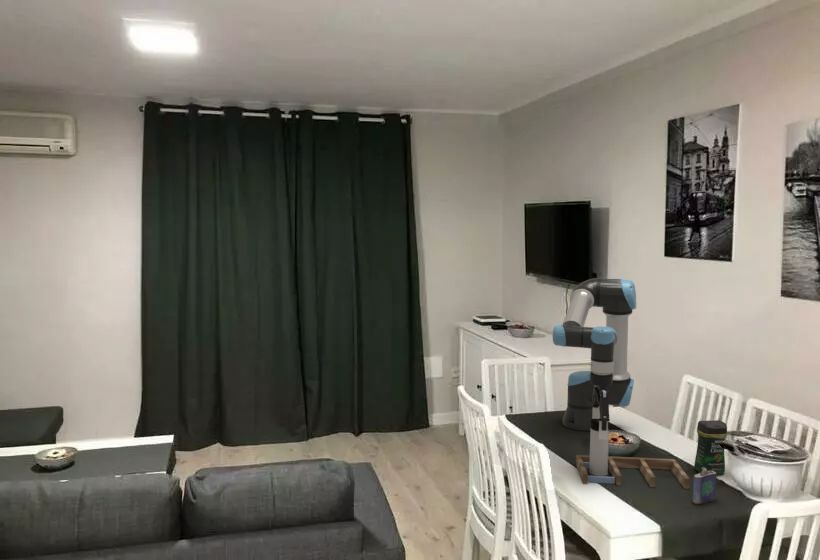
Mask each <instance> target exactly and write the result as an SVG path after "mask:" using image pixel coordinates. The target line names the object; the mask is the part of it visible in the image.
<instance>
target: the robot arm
mask: <svg viewBox="0 0 820 560" xmlns="http://www.w3.org/2000/svg"><path fill="white" fill-rule="evenodd" d="M636 292H637V291H636V287H635V283H634V281H633V280H631V279H623V278H620V279H619V278H598V277H594V278H590V279H587V280H585V281H582V282H581V283H579V284H577V286H575V287H574V289H573V290H571V292H570V296H569V306H568V309H567V311H566V314H565V317H564V320H563V322H562V324H555V326H553V330H552V343H553V344H554V345H555V346H558V347H559V346H560V347H562V348H563V347H564V348H565V347H566V348H567V347H569V348H580V349H581V348H583V349H590V362H588V365H589V366H590V367H589V370H579V371H574V372H572V373H570V374H569V375H568V378H567V400H566V401H567V403H566V404H567V406H566V409H565V412H564V414H563V417H562V425H563V427H565V428H567V429H571V430H575V431H582V432H583V431H584V432H585V431H586V432H587V431H590V432H591V419H598V421H599V439H605V440H607V436H608V422H610V420H611V419H610V408H609V407H610V406H615V407H628V406H630V404H631V398H632V394H633V389H634V382H635V379H633V378H631V373H630V372H629V371H628V344H629V343H628V339H629V338H628V337H629V336H628V334H629V317H630V316H631V315H632V314H633V310H636V309H637V294H636ZM593 307H594V308H595V307H598V308H602V313H603V314H604V315H605V316H606V317H605V318H606V319H605V326H593V327H590V326H589V327H588V326H585V324H586V321H587V316H588V314H589V311H590V309H591V308H593Z"/></svg>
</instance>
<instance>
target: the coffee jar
mask: <svg viewBox="0 0 820 560" xmlns="http://www.w3.org/2000/svg"><path fill="white" fill-rule="evenodd" d="M696 432H697V446H696V453H695V459H694V470H695V471H697V473H698V474H699V473H702V471H703V469H704V468H703V467H705V468H706V470H707V471H714V472H716V473H717V476H718V475H723V474H725V472H726V461H725V459H726V458H725V447H724V448H722V447H721V446H720V445H719V443H722V442H723V441H724V440H725V441H726V438H727V436H728V426H727V422H724V421H722V420H720V419H717V420H715V419H713V420H698V422H697V427H696ZM701 468H703V469H701Z"/></svg>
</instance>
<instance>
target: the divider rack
mask: <svg viewBox="0 0 820 560" xmlns="http://www.w3.org/2000/svg"><path fill="white" fill-rule="evenodd" d="M589 461H590V454H588V455H586V454H584V455H583V454H576V455H575V466H576V468H577V472H578V474H579V476H580V479H581V482H582V484H583V485H588V476H589V472H588V470H587V469H586V468H585V466H584V463H583V462H589ZM636 468H637V470H638V469H639V471H640V473H641V475H643V477H644V479H645V481H646V483H647V484H648V486H649V488H655V487H656V476H655V474H654V473H653V471H652V470H658V469H660V470H661V471H662V470H664V471H665V470H666V471H671V472H672V474H673V475H674V476H675V478H676V479H677V481H678V482H679V483H680V484H681V486H682V487H683V488H684V490H685V489H686V490H689V489H690V481H691V480H690V477H689V476H688V474H687V473H686V472H685V471H684V470H683V468H682V467H681V465H680V464H679V463H678V462H677V461H676V459H675V458H656V457H655V458H654V457H635V456H634V457H631V456H630V457H629V456H609V455H608V472H609V473H610V475H611V477H615V485H616V486H619V487H620V486H622V474H621V472H620V470H619V469H636Z"/></svg>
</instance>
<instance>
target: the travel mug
mask: <svg viewBox="0 0 820 560" xmlns="http://www.w3.org/2000/svg"><path fill="white" fill-rule="evenodd" d="M589 434H590V436H589V439H590V441H589V456H590V461H589V469H588V476H606V477H609V473H608V472H609V469H608V456H609V453H610V451H609V450H610V449H609V447H610V421H608V436H607V440H605V439H599V421H598V419H591V430H590V433H589Z"/></svg>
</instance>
